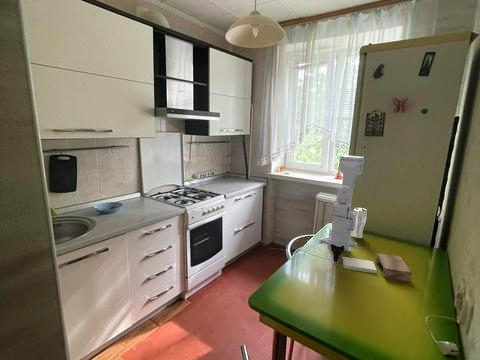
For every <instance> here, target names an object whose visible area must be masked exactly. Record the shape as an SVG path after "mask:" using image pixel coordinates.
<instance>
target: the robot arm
mask: <svg viewBox="0 0 480 360" xmlns="http://www.w3.org/2000/svg"><path fill="white" fill-rule="evenodd" d="M364 163H365V157H364V156H356V155H344V154H342V155H340V157H339V163H338V167H339V173H341V174H342V184H341V186H340V187H338V189H337V194H336V198H335V203H333V205H332V210H331V211H332V216H331V218H332V219H331V220H332V221H331V228H329V231H328V237H319V241H318V243H319V244H320V245H323V244H324V245H328V248H329V250H331V251H332V255H333V257H332V258H333V263H338V261H339V259H340V256H341V255H342V253H344V252H352V250H351V248H353V249H356V250H357V246H358V244H357V242H356V241H351V231H354V228H355V221H356V216H355V214H354V213H353V210H352V202H353V201H352V200H353V195H354V187H355V183H356V181H355V180H356V179H357V177H358V176H361V175H362V173H363V169H364Z"/></svg>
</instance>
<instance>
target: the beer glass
mask: <svg viewBox="0 0 480 360" xmlns="http://www.w3.org/2000/svg"><path fill="white" fill-rule="evenodd" d="M352 212H353V213H354V214H355V216H356V221H355V228H354V231H351V235H350V237H352V238H355V239H363V238H364V237H363V236H364V234H363V233H364V228H365V225H366V222H367V215H368V210H367V209H366V208H362V207H358V206H357V207H353V208H352Z"/></svg>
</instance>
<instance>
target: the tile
mask: <svg viewBox="0 0 480 360" xmlns="http://www.w3.org/2000/svg"><path fill="white" fill-rule="evenodd" d="M341 260H342V266H343V269H347V270H352V271H353V270H354V271H360V272H365V273H370V274H377V272H378V271H377V268H376V266H375V262H374V261H373V260H367V259H360V258H354V257H349V256H348V257H347V256H342V259H341Z"/></svg>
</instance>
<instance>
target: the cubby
mask: <svg viewBox="0 0 480 360" xmlns="http://www.w3.org/2000/svg"><path fill="white" fill-rule="evenodd" d="M375 257H376V258H375V264H376V265H381V266H382V269H383V270H382V277H383V278H384V279H390V280H395V281H396V280H397V281H403V282H409V283H410V282H411V279H412V278H411V277H412V273H413V272H412V271H411V269H410V268H409V266H408V265H407V264H406V263H405V261H404V259H403V258H402V257H401V256H398V255H390V254H383V253H376V256H375Z"/></svg>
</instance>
